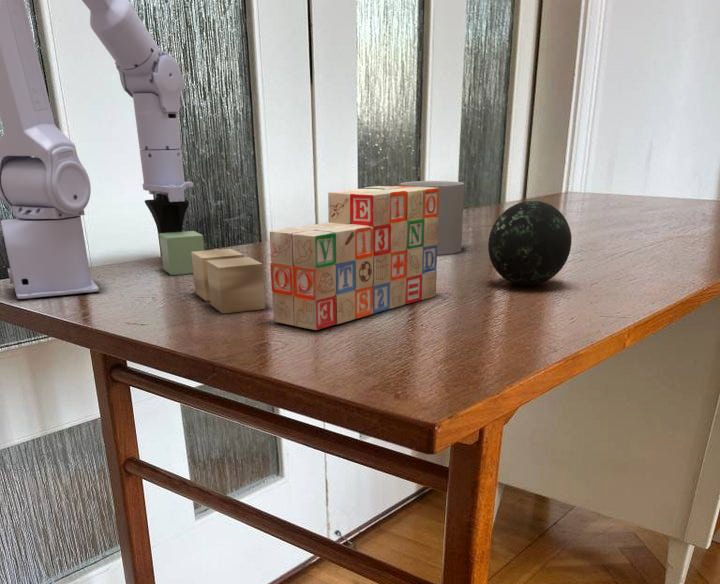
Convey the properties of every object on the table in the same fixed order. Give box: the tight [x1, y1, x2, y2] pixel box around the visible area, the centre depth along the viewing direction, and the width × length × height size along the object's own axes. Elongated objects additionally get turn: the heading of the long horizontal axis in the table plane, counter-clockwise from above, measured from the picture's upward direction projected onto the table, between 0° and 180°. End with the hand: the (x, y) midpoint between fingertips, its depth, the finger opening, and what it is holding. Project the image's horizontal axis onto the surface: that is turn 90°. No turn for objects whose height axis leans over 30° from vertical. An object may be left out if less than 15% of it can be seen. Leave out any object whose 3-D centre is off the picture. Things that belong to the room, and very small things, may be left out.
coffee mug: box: [399, 180, 465, 256], centre depth 120 cm, size 13×10×10 cm
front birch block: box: [206, 256, 266, 315], centre depth 85 cm, size 5×5×5 cm
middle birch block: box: [191, 248, 245, 302], centre depth 90 cm, size 5×5×5 cm
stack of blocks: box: [269, 185, 439, 331], centre depth 82 cm, size 21×6×12 cm, turn 141°
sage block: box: [158, 230, 206, 276], centre depth 106 cm, size 5×5×5 cm
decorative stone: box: [487, 200, 572, 287], centre depth 93 cm, size 10×10×10 cm
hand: (172, 249), depth 112 cm, fingers closed
